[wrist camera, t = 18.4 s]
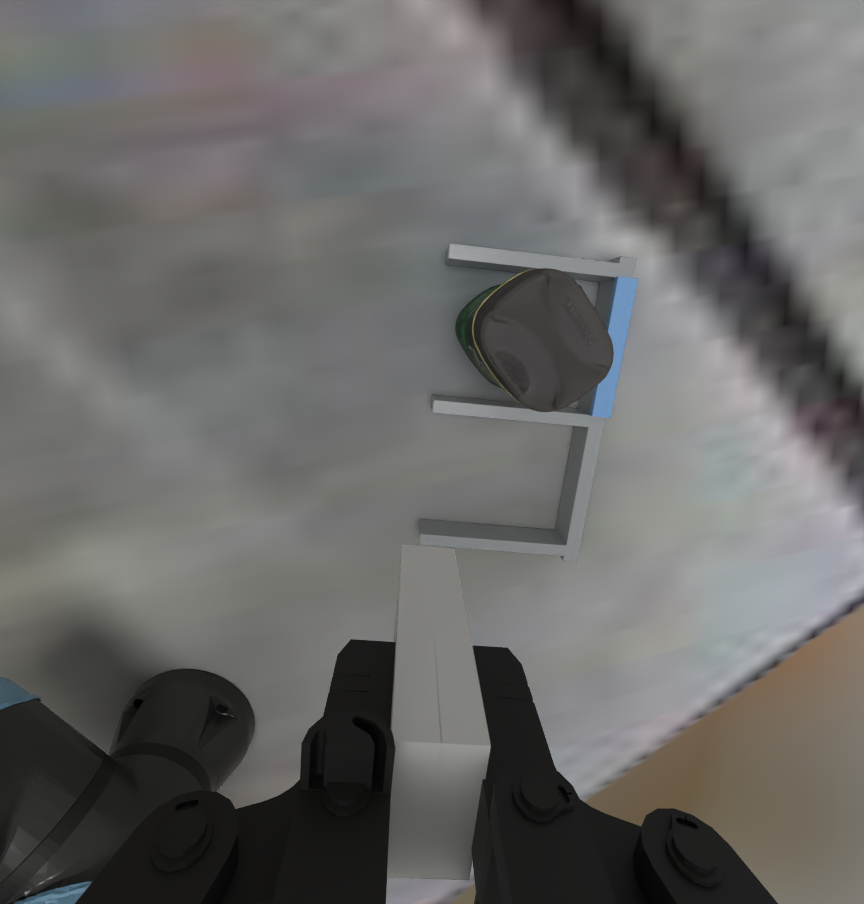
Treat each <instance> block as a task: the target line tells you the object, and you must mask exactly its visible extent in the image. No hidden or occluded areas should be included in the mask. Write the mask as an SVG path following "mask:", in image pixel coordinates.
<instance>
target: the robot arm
mask: <svg viewBox="0 0 864 904" xmlns="http://www.w3.org/2000/svg"><path fill="white" fill-rule="evenodd" d="M40 701H41V698H40V697H39V696H37V695H33V694H30V693H28V692H27V691H25V690H24V689H22V688H21V687H20V686H18V685H17V684H15V683H14V682H12V681H11V680H9V679H7V678H3V677H0V904H386V885H387V877H388V878H419V879H449V880H469V877H470V871H471V865H472V859H473V868H474V877H475V885H476V896H475V902H474V904H778V903H777V902H776V901H775V900H774V898H773V897H772V896H771V895H770V893H769V892H768V891H767V890H766V889H765V888H764V886H763V885H762V884H761V883H760V881H759V880H758V879H757V878H756V877H755V875H754V874H753V873H752V872H751V871H750V869H749V868H748V867H747V866H746V864H745V863H744V862H743V861H742V860H741V858H740V857H739V856H738V855H737V854H736V852H735V851H734V850H733V849H732V847H731V846H730V845H729V844H728V843H727V842H726V841H725V840H724V839H723V838H722V837H721V836H720V835H719V834H718V833H717V832H716V831H715V830H714V829H713V828H712V827H710V826H708V825H707V824H705V823H704V822H702V821H701V820H699V819H698V818H696V817H695V816H693V815H691V814H688V813H685V812H682V811H679V810H676V809H656V810H654V811H653V812H651V813H649V814H648V815H646V817H645V819H644V822H643V824H642V826H638V825H635V824H632V823H629V822H627V821H624V820H621V819H619V818H616V817H613V816H610V815H608V814H605V813H603V812H601V811H599V810H596V809H594V808H592V807H590V806H589V805H587V804H586V803H585V802H583V801H582V800H580V799H579V797H578V795H577V793H576V791H575V790H574V788H573V786H572V785H571V784H570V783H569V782H568V781H567V780H566V779H565V778H564V777H563V776H562V775H561V774H560V773H559V772H558V771H557V770H556V768H555V766H554V763H553V760H552V757H551V754H550V751H549V748H548V744H547V741H546V738H545V735H544V732H543V729H542V726H541V723H540V720H539V717H538V714H537V710H536V707H535V704H534V703H533V698H532V695H531V692H530V689H529V687H528V683H527V679H526V676H525V673H524V670H523V667H522V664H521V663H520V662H519V661H518V660H517V658H516V657H515V656H514V655H513V654H512V653H511V651H510V650H509V649H508V648H502V647H487V646H472V641H471V636H470V630H469V625H468V620H467V614H466V609H465V603H464V598H463V592H462V587H461V582H460V576H459V571H458V565H457V560H456V555H455V549H454V548H441V547H428V546H415V545H402V553H401V564H400V575H399V585H398V596H397V607H396V618H395V629H394V642H383V641H367V640H352V639H351V640H350V641H349V642H348V644H347V645H346V646H345V647H344V648H343V649H342V650H341V652H340V653H339V654H338V656H337V661H336V665H335V669H334V673H333V677H332V682H331V686H330V691H329V694H328V698H327V703H326V707H325V711H324V715H323V717H322V718H321V719H320V720H318V721H317V722H316V723H315V724H314V725H313V726H312V727H311V728H309V730H308V732H307V734H306V736H305V738H304V740H303V742H302V747H301V773H300V780H299V781H298V782H297V783H296V784H295V785H294V786H293V787H292V788H290V789H289V790H287V791H285V792H284V793H282V794H281V795H279V796H277V797H274V798H271V799H269V800H266V801H263V802H260V803H256V804H253V805H249V806H245V807H242V808H238V809H235V808H234V806H233V804H232V802H231V801H230V800H229V799H228V798H226V797H224V796H223V795H221V794H219V793H217V792H216V791H217V790H218V789H219V788H220V786H221V785H222V784H223V783H224V782H225V781H226V779H227V778H228V777H229V776H230V775H231V773H232V772H233V771H234V770H235V769H236V767H237V766H238V765H239V764H240V762H241V761H242V759H243V758H244V756H245V754H246V752H247V749H248V747H249V744H250V742H251V739H252V736H253V733H254V717H253V713H252V710H251V707H250V705H249V703H248V701H247V700H246V698H245V697H244V696H243V694H242V693H241V692H240V691H239V690H238V689H237V688H236V687H234V686H233V685H232V684H230V683H229V682H227V681H226V680H224V679H222V678H220V677H218V676H216V675H213V674H210V673H207V672H203V671H197V670H175V671H170V672H166V673H163V674H160V675H158V676H155V677H154V678H152V679H150V680H149V681H147V682H146V683H145V684H143V685H142V686H141V687H140V689H139V690H138V691H137V692H136V693H135V695H134V696H133V697H132V699H131V700H130V701H129V703H128V704H127V706H126V707H125V709H124V711H123V713H122V715H121V718H120V721H119V724H118V727H117V730H116V733H115V736H114V739H113V742H112V745H111V748H110V751H109V754H108V755H107V754H106V753H105V752H104V751H102V750H101V749H100V748H98V747H97V746H96V745H95V744H93V743H92V742H91V741H89V740H88V739H87V738H86V737H84V736H83V735H82V734H80V733H79V732H78V731H77V730H75V729H74V728H73V727H72V726H70V725H69V724H68V723H66V722H65V721H64V720H63V719H61V718H60V717H59V716H57V715H56V714H55V713H54V712H52V711H51V710H50V709H49V708H47V707H46V706H45V705H43V704H42V703H41V702H40Z"/></svg>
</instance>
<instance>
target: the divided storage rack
mask: <svg viewBox="0 0 864 904" xmlns="http://www.w3.org/2000/svg"><path fill="white" fill-rule="evenodd" d="M636 260H637V258H631V257H622V256H620V257H618V258H615V259H612V260H609V261H607V262H603V261H595V260H586V259H577V258H569V257H560V256H552V255H543V254H535V253H526V252H517V251H509V250H500V249H492V248H483V247H474V246H466V245H457V244H450V245H449V247H448V250H447V256H446V265H455V266H464V267H473V268H481V269H490V270H499V271H508V272H517V273H522V272H524V271H527V270H531V269H543V268H551V269H556V270H559V271H562V272H564V273H566V274H568V275H569V276H570V277H572V278H573V279H578V280H587V281H596V282H600V284H599V289H598V295H597V301H596V306H595V310H596V312H597V313H598V315H599V316H600V318H601V319H602V321H603V323H604V324H605V326H606V327H607V330H608V333H609V335H610V337H611V340H612V344H613V350H614V356H613V363H612V366H611V369H610V371H609V373H608V374H607V376H606V377H605V378H604V379H603V380H602V381H601V382H600V383H599V384H598V385H597V386H596V387H595V388H593V389H592V390H591V391H590V392H588V393H587V394H586V395H584V396H583V397H581V398H580V399H579V401H578V406H577V409H576V408H563V409H560V410H557V411H553V412H538V411H534V410H531V409H529V408H527V407H525V406H523V405H521V404H520V403H514V402H503V401H493V400H483V399H472V398H462V397H452V396H441V395H432V403H431V407H432V412H434V413H445V414H455V415H466V416H477V417H487V418H498V419H508V420H519V421H530V422H540V423H551V424H561V425H572V426H574V428H573V434H572V439H571V445H570V451H569V456H568V462H567V467H566V473H565V478H564V484H563V489H562V495H561V501H560V506H559V512H558V517H557V523H556V528H555V530H550V529H538V528H525V527H513V526H500V525H488V524H475V523H463V522H451V521H438V520H426V519H420V521H419V545H430V546H443V547H456V548H469V549H482V550H495V551H507V552H520V553H533V554H546V555H559V556H560V557H561V558H562V560H563V561H570V562H577V560H578V555H579V550H580V545H581V540H582V535H583V530H584V525H585V519H586V514H587V509H588V504H589V499H590V494H591V489H592V484H593V479H594V474H595V469H596V463H597V458H598V453H599V448H600V443H601V438H602V433H603V428H604V423H605V418H610V417H611V413H612V408H613V403H614V398H615V393H616V388H617V382H618V377H619V372H620V367H621V362H622V357H623V352H624V347H625V342H626V337H627V332H628V327H629V322H630V317H631V312H632V307H633V302H634V297H635V292H636V287H637V282H638V278H633V275H634V270H635V265H636Z"/></svg>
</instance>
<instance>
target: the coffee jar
mask: <svg viewBox="0 0 864 904" xmlns="http://www.w3.org/2000/svg"><path fill="white" fill-rule="evenodd" d="M456 335H457V338H458V340H459V342H460V344H461V346H462V348H463V349H464V351H465V353H466V354H467V356H468V357H469V359H470V360H471V362H472V363H473V364H474V366H475V367H476V368H477V369H478V370H479V372H480V373H481V374H482V375H483V376H484V377H485V378H486V379H487V380H488V381H489V382H491V383H492V384H494V385H496V386H498V387H500V388H502V389H504V390H505V391H506V392H507V393H508V394H509V395H511V396H512V397H513V398H514V399H515V400H516V401H517V402H519V403H520V404H521V405H523V406H525V407H527V408H529V409H531V410H534V411H538V412H553V411H557V410H560V409H563V408H565V407H567V406H569V405H570V404H572V403H574V402H575V401H577V400H578V399H580V398H581V397H583V396H584V395H586V394H587V393H588V392H590V391H591V390H592V389H593V388H595V387H596V386H597V385H598V384H599V383H600V382H601V381H602V380H603V379H604V378H605V377H606V376H607V374H608V373H609V371H610V369H611V366H612V363H613V356H614V350H613V344H612V340H611V337H610V335H609V333H608V330H607V327H606V326H605V324H604V323H603V321H602V319H601V318H600V316H599V315H598V313H597V312H596V310H595V308H594V307H593V305H592V304H591V302H590V301H589V299H588V297H587V296H586V294H585V292H584V291H583V289H582V287H581V286H580V285H578V284H577V283H576V282H575V280H574V279H573V278H572V277H570V276H569V275H568V274H566V273H564V272H562V271H559V270H556V269H551V268H543V269H531V270H527V271H524V272H522V273H520V274H518V275H516V276H514V277H513V278H511V279H509V280H508V281H507V282H505V283H504V284H502V285H497V286H494V287H491V288H489V289H487V290H486V291H484V292H482V293H481V294H480V295H478V296H477V297H475V298H474V299H473V300H472V301H471V302H469V303H468V304H467V305H466V306H465V307H464V308H463V310H462V311H461V312H460V314H459V316H458V318H457V321H456Z"/></svg>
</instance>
